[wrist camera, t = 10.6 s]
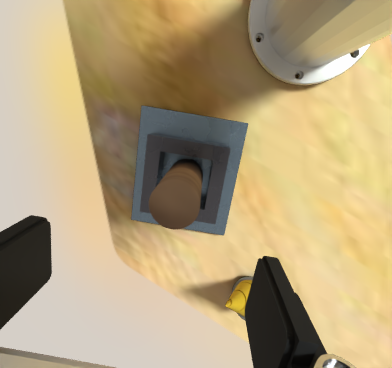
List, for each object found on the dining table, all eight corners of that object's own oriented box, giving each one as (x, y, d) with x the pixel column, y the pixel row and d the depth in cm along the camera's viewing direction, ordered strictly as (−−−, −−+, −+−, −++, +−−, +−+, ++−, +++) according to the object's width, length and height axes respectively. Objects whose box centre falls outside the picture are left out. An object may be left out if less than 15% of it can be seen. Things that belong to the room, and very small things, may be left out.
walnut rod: (171, 156, 27) (151, 176, 17) (205, 162, 27) (204, 185, 17) (167, 188, 28) (146, 224, 18) (199, 193, 28) (195, 233, 18)
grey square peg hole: (143, 105, 26) (133, 103, 23) (247, 123, 26) (253, 123, 23) (133, 217, 30) (123, 230, 27) (223, 232, 30) (225, 248, 27)
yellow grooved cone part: (240, 307, 34) (200, 320, 26) (247, 270, 35) (211, 272, 27) (276, 324, 31) (242, 344, 23) (283, 283, 31) (253, 289, 24)
